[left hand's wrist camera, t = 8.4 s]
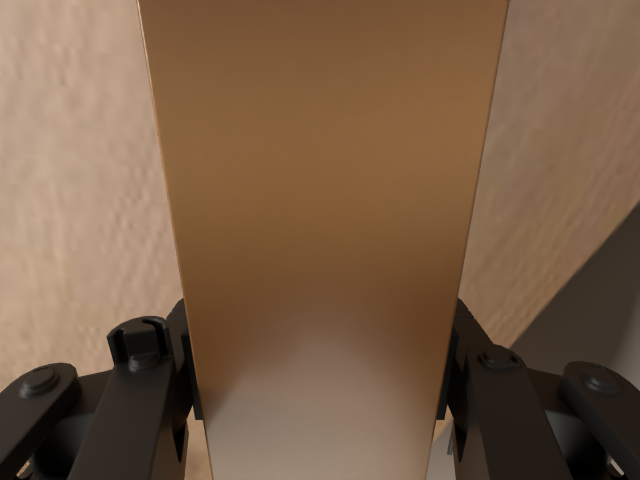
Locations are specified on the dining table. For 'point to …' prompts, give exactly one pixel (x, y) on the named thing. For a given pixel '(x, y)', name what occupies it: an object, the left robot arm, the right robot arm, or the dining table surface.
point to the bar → (321, 218)
